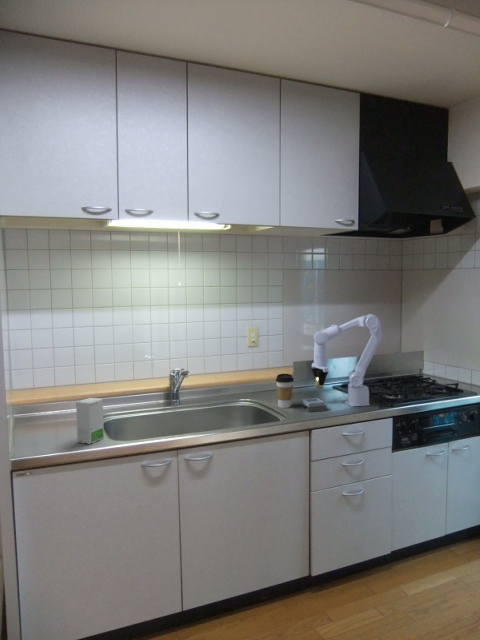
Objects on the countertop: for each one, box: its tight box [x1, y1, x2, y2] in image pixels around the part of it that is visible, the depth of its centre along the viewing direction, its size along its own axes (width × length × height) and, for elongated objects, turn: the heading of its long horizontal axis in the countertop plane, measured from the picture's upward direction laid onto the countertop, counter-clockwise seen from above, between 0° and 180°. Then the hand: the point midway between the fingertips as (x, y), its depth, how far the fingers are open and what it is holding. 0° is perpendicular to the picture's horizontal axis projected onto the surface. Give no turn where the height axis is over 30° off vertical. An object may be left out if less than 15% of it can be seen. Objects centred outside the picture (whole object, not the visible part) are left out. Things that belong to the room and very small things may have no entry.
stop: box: [306, 404, 327, 413], centre depth 220 cm, size 9×1×2 cm, turn 105°
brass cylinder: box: [314, 376, 324, 390], centre depth 233 cm, size 4×4×6 cm
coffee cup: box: [275, 373, 294, 409], centre depth 228 cm, size 8×8×15 cm
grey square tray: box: [302, 397, 325, 408], centre depth 224 cm, size 8×8×4 cm
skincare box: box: [75, 397, 105, 445], centre depth 182 cm, size 8×7×16 cm
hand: (319, 384), depth 233 cm, fingers closed on brass cylinder, 4 cm apart
